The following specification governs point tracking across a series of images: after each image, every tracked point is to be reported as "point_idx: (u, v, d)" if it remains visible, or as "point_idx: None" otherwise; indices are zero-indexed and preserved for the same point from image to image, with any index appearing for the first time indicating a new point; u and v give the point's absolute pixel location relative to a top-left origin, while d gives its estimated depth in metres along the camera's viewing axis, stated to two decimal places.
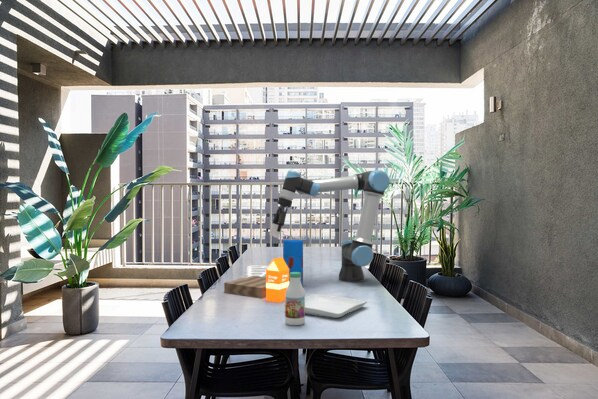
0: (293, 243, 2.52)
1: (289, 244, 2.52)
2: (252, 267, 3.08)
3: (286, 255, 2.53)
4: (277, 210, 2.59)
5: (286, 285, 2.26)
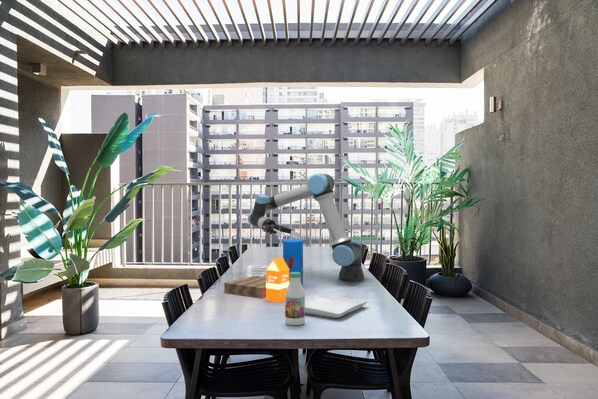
0: (293, 243, 2.51)
1: (289, 244, 2.51)
2: (252, 267, 3.08)
3: (286, 255, 2.53)
4: None
5: (286, 285, 2.26)
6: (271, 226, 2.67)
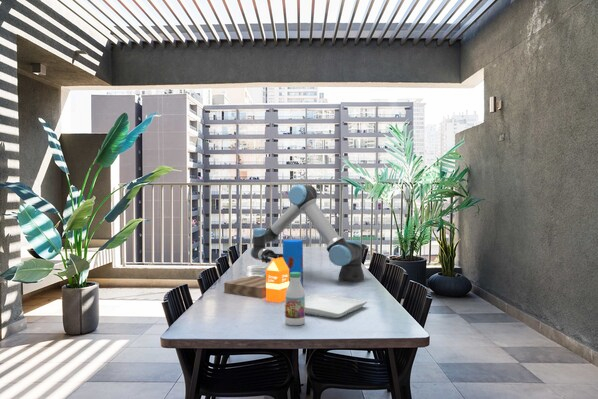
0: (293, 243, 2.52)
1: (289, 244, 2.52)
2: (252, 267, 3.07)
3: (286, 255, 2.53)
4: None
5: (286, 285, 2.26)
6: (267, 255, 2.72)
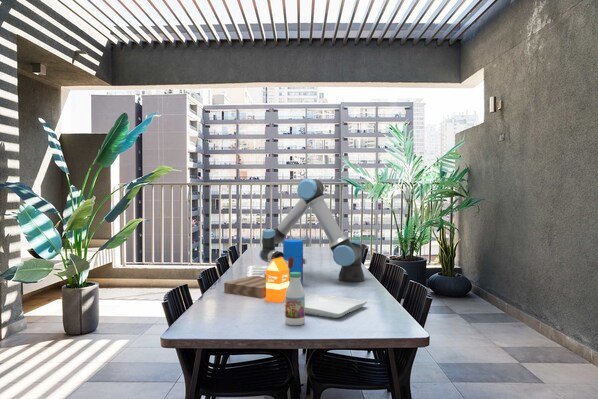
0: (293, 243, 2.52)
1: (289, 244, 2.52)
2: (253, 267, 3.06)
3: (286, 255, 2.53)
4: None
5: (286, 285, 2.26)
6: None
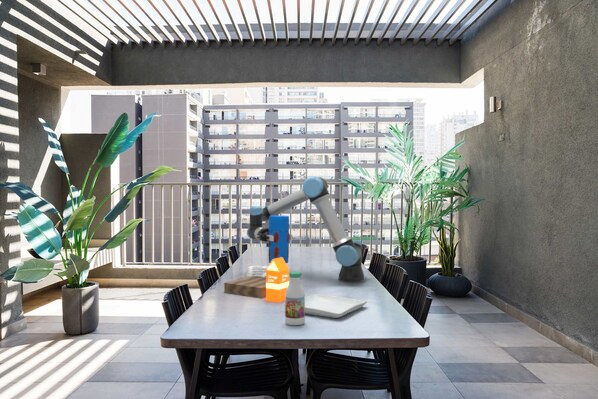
0: (279, 218, 2.49)
1: (275, 219, 2.49)
2: (253, 267, 3.06)
3: (271, 230, 2.50)
4: None
5: (286, 285, 2.26)
6: (265, 234, 2.60)
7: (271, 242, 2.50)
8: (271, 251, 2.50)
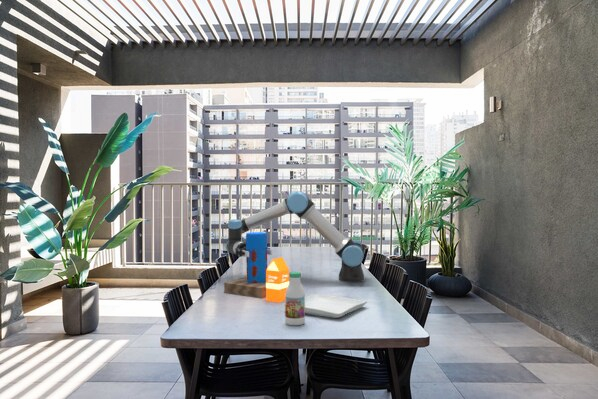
0: (256, 236, 2.40)
1: (252, 237, 2.40)
2: None
3: (249, 248, 2.41)
4: None
5: (286, 285, 2.26)
6: (242, 249, 2.50)
7: (249, 261, 2.41)
8: (249, 270, 2.41)
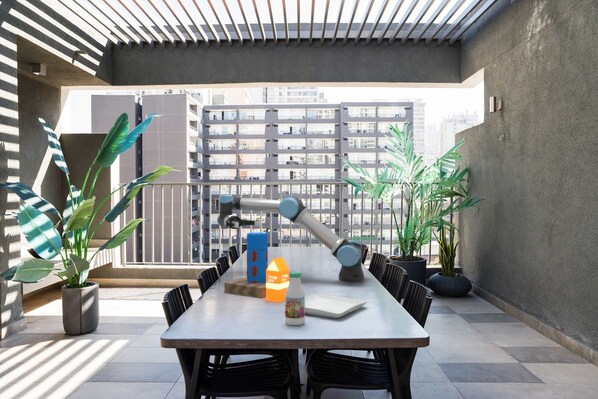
0: (257, 236, 2.40)
1: (253, 237, 2.40)
2: None
3: (249, 248, 2.41)
4: None
5: (286, 285, 2.26)
6: (232, 221, 2.61)
7: (249, 261, 2.41)
8: (249, 270, 2.41)
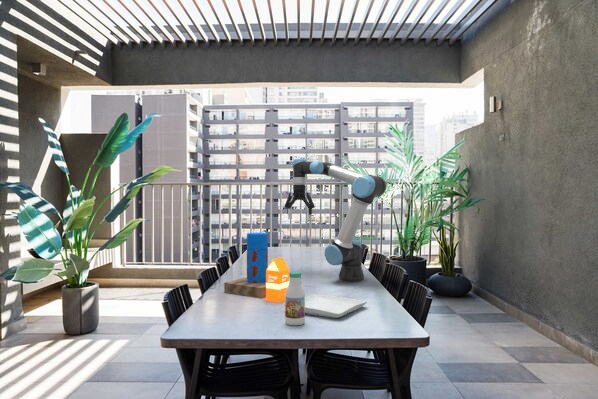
0: (257, 236, 2.40)
1: (253, 237, 2.40)
2: None
3: (249, 248, 2.41)
4: None
5: (286, 285, 2.26)
6: (292, 199, 2.85)
7: (249, 261, 2.41)
8: (249, 270, 2.41)
